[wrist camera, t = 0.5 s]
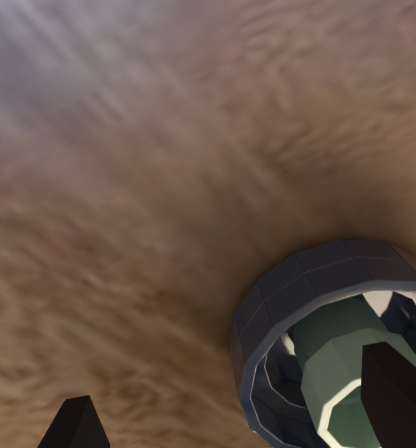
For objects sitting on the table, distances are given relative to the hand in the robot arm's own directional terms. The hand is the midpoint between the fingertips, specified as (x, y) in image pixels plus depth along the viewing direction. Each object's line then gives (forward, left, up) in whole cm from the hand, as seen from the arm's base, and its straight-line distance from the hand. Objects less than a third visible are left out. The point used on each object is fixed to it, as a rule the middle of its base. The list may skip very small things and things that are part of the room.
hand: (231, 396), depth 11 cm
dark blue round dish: (-9, -5, -10) cm, 14 cm away
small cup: (-9, -5, -10) cm, 14 cm away
